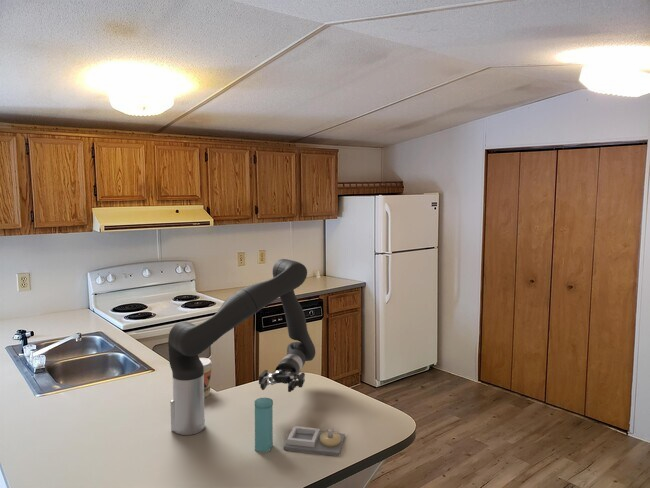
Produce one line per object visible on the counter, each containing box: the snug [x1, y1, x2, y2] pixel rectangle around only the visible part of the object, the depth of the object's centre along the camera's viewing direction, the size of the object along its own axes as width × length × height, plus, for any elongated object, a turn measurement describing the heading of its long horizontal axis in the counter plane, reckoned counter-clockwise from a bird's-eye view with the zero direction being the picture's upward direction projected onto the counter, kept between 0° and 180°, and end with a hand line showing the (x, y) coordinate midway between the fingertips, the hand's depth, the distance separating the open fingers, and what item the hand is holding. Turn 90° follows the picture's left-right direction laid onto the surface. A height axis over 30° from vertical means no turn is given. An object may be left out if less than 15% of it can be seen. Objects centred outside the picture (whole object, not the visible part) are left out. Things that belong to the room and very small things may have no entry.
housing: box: [283, 425, 346, 457], centre depth 146 cm, size 16×11×4 cm
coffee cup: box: [199, 357, 213, 398], centre depth 178 cm, size 9×9×12 cm
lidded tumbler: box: [254, 397, 274, 453], centre depth 143 cm, size 5×5×14 cm
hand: (275, 388), depth 153 cm, fingers open, 8 cm apart
